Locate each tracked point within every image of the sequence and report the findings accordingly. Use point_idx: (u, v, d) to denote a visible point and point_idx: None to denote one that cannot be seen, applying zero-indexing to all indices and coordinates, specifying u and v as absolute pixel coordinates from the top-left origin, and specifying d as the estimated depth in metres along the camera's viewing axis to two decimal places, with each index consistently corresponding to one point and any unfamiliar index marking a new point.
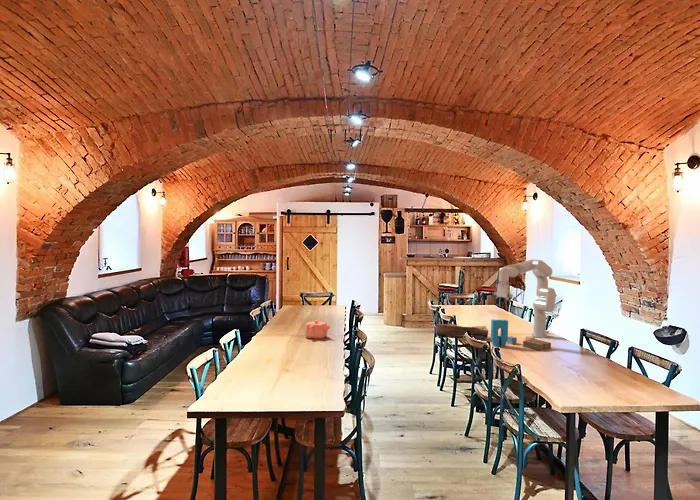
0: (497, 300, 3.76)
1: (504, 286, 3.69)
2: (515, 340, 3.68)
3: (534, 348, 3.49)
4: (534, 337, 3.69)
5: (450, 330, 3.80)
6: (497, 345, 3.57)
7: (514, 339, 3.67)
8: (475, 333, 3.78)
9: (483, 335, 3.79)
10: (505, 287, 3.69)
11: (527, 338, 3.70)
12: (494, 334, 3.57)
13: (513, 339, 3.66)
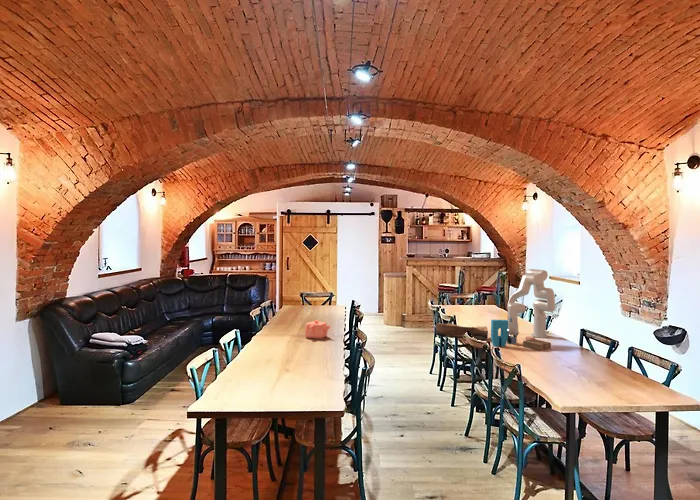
0: (510, 339, 3.67)
1: (516, 323, 3.68)
2: (515, 340, 3.67)
3: (534, 348, 3.49)
4: (534, 337, 3.69)
5: (449, 330, 3.81)
6: (497, 345, 3.57)
7: (514, 339, 3.67)
8: (474, 333, 3.77)
9: (483, 335, 3.77)
10: (517, 323, 3.68)
11: (527, 338, 3.70)
12: (494, 334, 3.57)
13: (513, 339, 3.66)
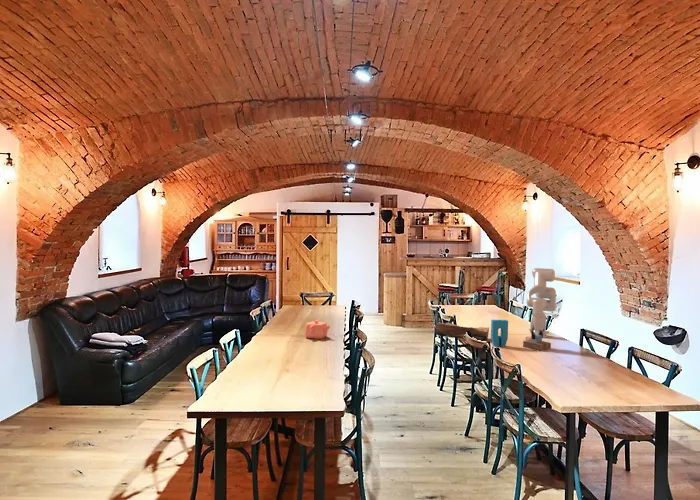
0: (534, 335, 3.52)
1: (542, 318, 3.54)
2: (540, 338, 3.54)
3: (535, 348, 3.49)
4: None
5: (448, 329, 3.83)
6: (497, 345, 3.57)
7: (539, 337, 3.53)
8: (473, 333, 3.76)
9: (482, 336, 3.74)
10: (543, 319, 3.54)
11: (527, 338, 3.70)
12: (494, 334, 3.57)
13: (538, 337, 3.53)
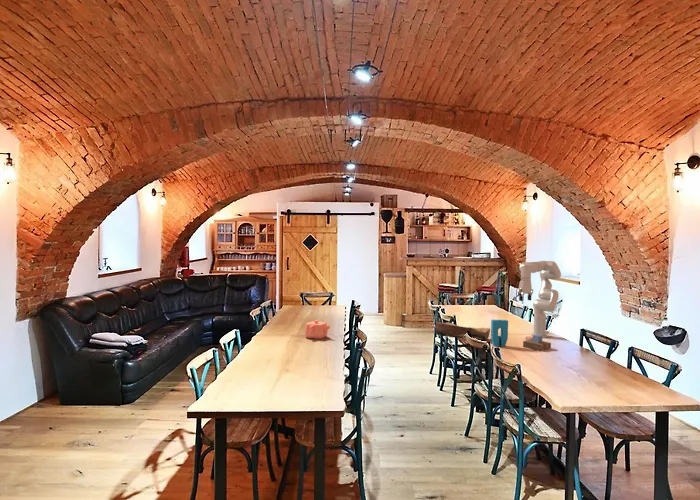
0: None
1: (530, 282, 3.73)
2: (541, 338, 3.54)
3: (535, 348, 3.48)
4: None
5: (447, 329, 3.84)
6: (497, 345, 3.57)
7: (540, 337, 3.53)
8: (472, 333, 3.75)
9: (480, 337, 3.73)
10: (530, 283, 3.74)
11: (527, 338, 3.70)
12: (494, 334, 3.57)
13: (539, 337, 3.52)
